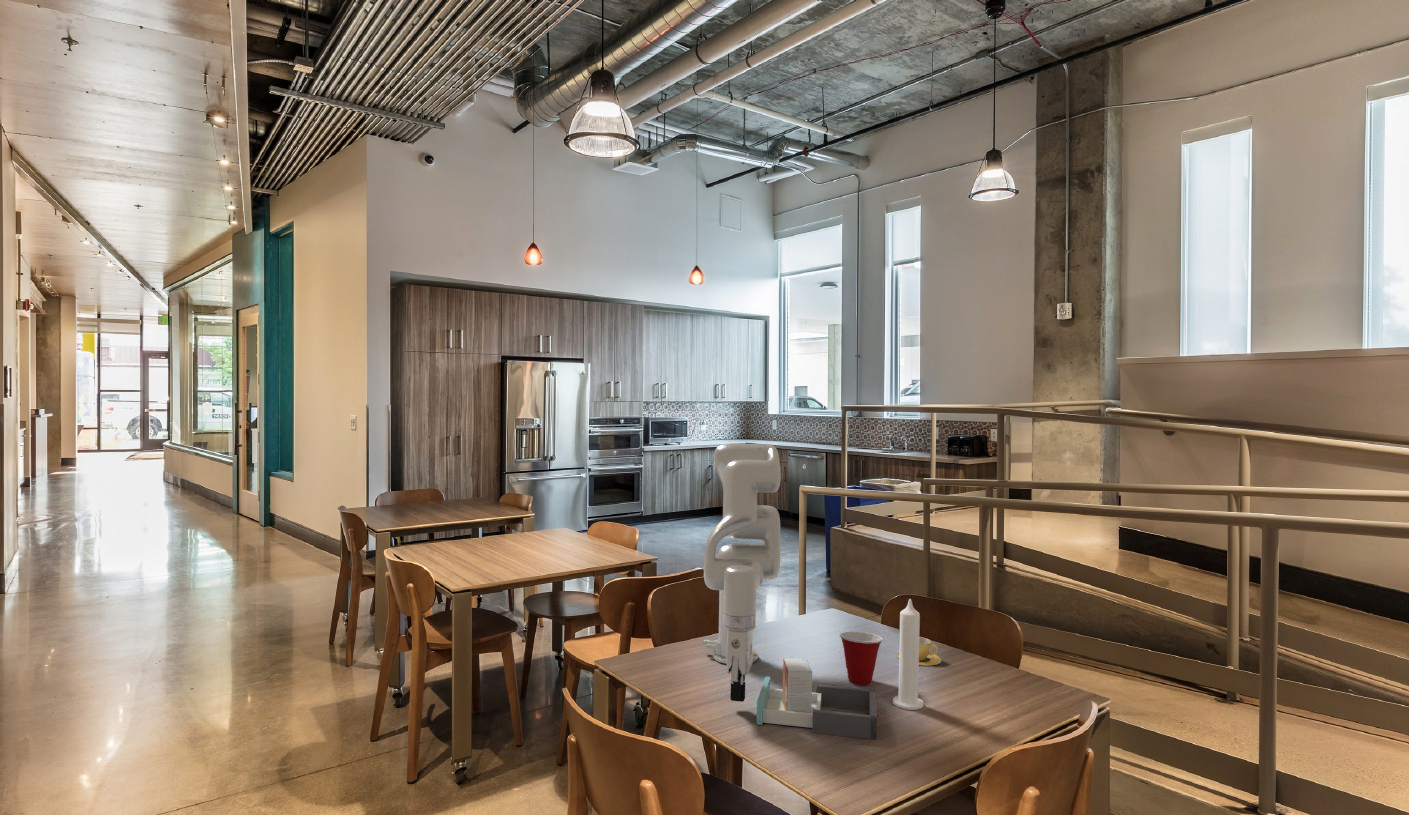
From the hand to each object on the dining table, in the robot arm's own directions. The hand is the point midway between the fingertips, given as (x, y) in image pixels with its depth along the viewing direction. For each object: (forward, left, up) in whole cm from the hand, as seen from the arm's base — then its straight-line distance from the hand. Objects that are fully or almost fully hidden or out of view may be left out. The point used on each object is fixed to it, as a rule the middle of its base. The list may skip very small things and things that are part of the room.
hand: (737, 699), depth 167 cm
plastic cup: (+28, +25, -2) cm, 38 cm away
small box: (+13, 0, -1) cm, 14 cm away
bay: (+24, 0, -2) cm, 24 cm away
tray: (+12, 0, -2) cm, 12 cm away
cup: (+44, +47, -3) cm, 65 cm away
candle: (+39, +13, -2) cm, 41 cm away
